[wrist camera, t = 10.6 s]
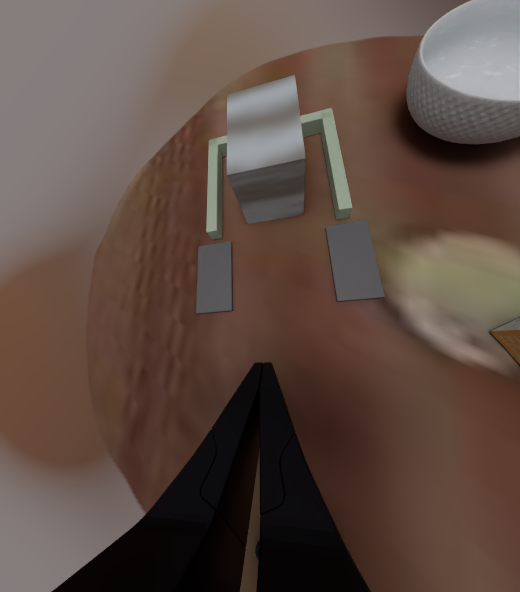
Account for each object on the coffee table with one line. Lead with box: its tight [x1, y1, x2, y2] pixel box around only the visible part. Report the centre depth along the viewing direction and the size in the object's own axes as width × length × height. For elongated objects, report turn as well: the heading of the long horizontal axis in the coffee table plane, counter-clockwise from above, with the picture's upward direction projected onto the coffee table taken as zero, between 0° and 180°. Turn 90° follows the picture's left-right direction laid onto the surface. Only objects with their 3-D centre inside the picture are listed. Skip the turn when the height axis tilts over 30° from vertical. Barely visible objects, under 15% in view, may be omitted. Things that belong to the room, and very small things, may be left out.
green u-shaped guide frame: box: [196, 108, 384, 314], centre depth 26 cm, size 28×23×2 cm
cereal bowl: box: [406, 0, 520, 144], centre depth 22 cm, size 17×17×7 cm
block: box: [227, 75, 306, 224], centre depth 24 cm, size 12×8×8 cm, turn 2°
